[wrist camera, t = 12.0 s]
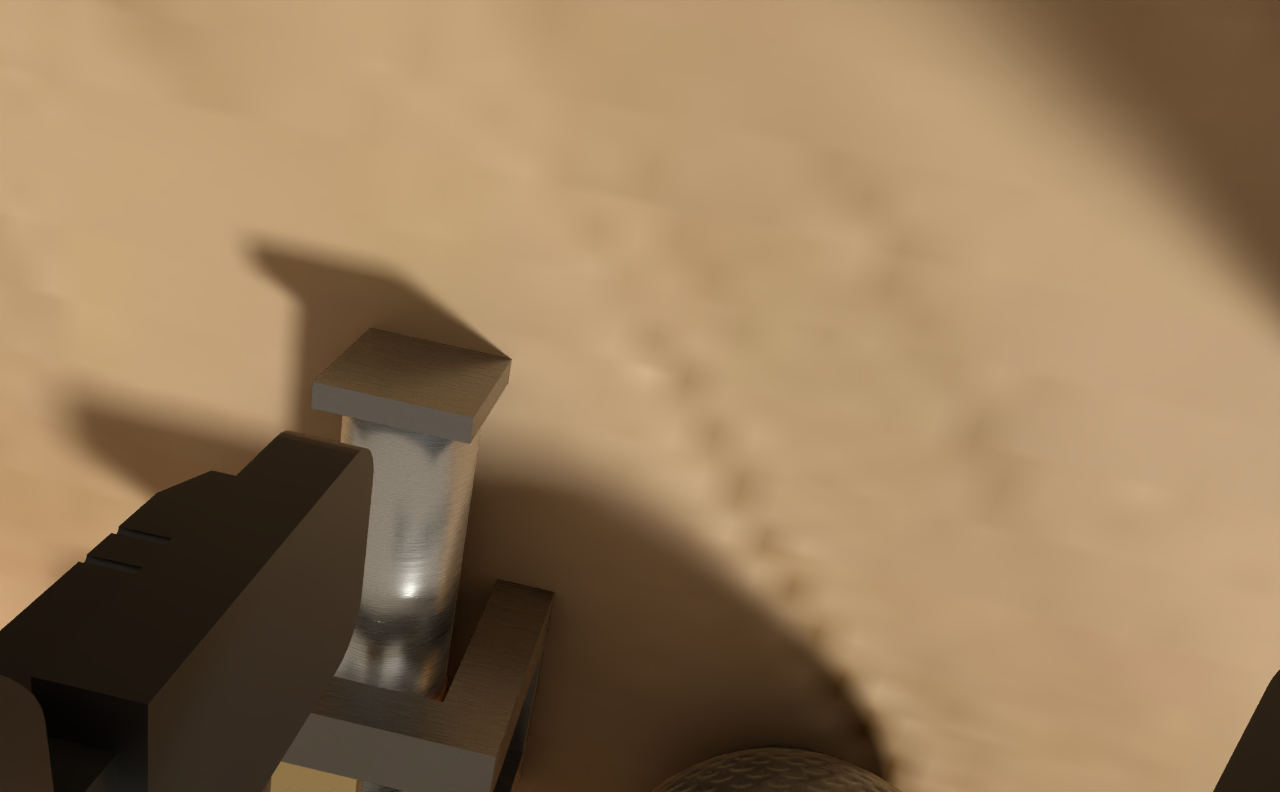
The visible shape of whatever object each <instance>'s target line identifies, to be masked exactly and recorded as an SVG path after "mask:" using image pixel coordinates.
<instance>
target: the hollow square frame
mask: <svg viewBox="0 0 1280 792" xmlns="http://www.w3.org/2000/svg"><path fill="white" fill-rule="evenodd" d="M553 596H554V592H550V591H545V590H541V589H537V588H532V587H528V586H524V585H519V584H515V583H511V582H506V581H502V580H498V581H497V583H496V586H495V588H494V590H493V592H492V595H491V597H490V599H489V601H488V604H487V606H486V608H485V610H484V612H483V615H482V617H481V619H480V621H479V624H478V626H477V628H476V630H475V633H474V635H473V637H472V639H471V642H470V644H469V646H468V648H467V650H466V653H465V655H464V657H463V659H462V662H461V664H460V666H459V668H458V671H457V673H456V675H455V677H454V679H453V682H452V684H451V686H450V688H449V691H448V693H447V695H446V697H445V700H444V702H441V701H437V700H432V699H428V698H424V697H420V696H415V695H411V694H407V693H403V692H398V691H394V690H390V689H386V688H381V687H377V686H373V685H369V684H364V683H360V682H356V681H352V680H347V679H343V678H339V677H335V676H333V677H332V679H331V681H330V682H329V684H328V686H327V687H326V689H325V690H324V692H323V694H322V695H321V697H320V699H319V700H318V702H317V703H316V705H315V707H314V708H313V710H312V712H311V713H310V715H309V716H308V718H307V720H306V721H305V723H304V725H303V726H302V728H301V729H300V731H299V733H298V734H297V736H296V737H295V739H294V741H293V742H292V744H291V746H290V747H289V749H288V750H287V752H286V754H285V755H284V757H283V759H282V760H281V762H280V763H279V765H278V767H277V768H276V770H275V772H274V773H273V775H272V776H271V778H270V780H269V781H268V783H267V785H266V786H265V788H264V789H263V791H262V792H362V786H363V781H364V782H369V783H373V784H377V785H381V786H385V787H390V788H394V789H398V790H402V791H406V792H516V790H517V787H518V784H519V780H520V775H521V769H522V764H523V758H524V753H525V748H526V742H527V737H528V731H529V726H530V721H531V715H532V710H533V704H534V699H535V694H536V688H537V683H538V677H539V672H540V666H541V661H542V656H543V650H544V645H545V639H546V634H547V629H548V623H549V618H550V612H551V607H552V602H553Z"/></svg>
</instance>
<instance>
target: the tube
mask: <svg viewBox="0 0 1280 792" xmlns="http://www.w3.org/2000/svg"><path fill="white" fill-rule="evenodd" d="M511 361H512V359H508V358H504V357H499V356H495V355H490V354H486V353H481V352H477V351H472V350H467V349H463V348H458V347H454V346H449V345H445V344H440V343H436V342H431V341H427V340H422V339H418V338H413V337H409V336H404V335H400V334H395V333H391V332H386V331H382V330H377V329H373V328H369V329H368V330H367V331H366V332H365V333H364V334H363V335H362V336H361V337H360V338H359V339H358V340H357V341H356V342H355V343H354V344H352V345H351V346H350V347H349V348H348V349H347V350H346V351H345V352H344V353H343V354H342V355H341V356H340V357H339V358H338V359H336V360H335V361H334V362H333V363H332V364H331V365H330V366H329V367H328V368H327V369H326V370H325V371H324V372H323V373H322V374H320V375H319V376H318V377H317V378H316V379H315V380H314V381H313V384H312V398H311V408H312V409H316V410H320V411H325V412H329V413H334V414H338V415H343V416H342V428H341V440H340V442H341V443H346V444H350V445H355V446H359V447H363V448H367V449H369V450H370V451H371V453H372V457H373V464H374V473H373V486H372V496H371V506H370V516H369V527H368V537H367V547H366V557H365V567H364V578H363V588H362V597H361V603H360V609H359V614H358V618H357V622H356V625H355V629H354V632H353V635H352V638H351V641H350V644H349V647H348V649H347V651H346V654H345V656H344V658H343V660H342V662H341V664H340V666H339V668H338V669H337V671H336V673H335V674H334V676H335V677H339V678H343V679H347V680H352V681H356V682H360V683H364V684H369V685H373V686H377V687H381V688H386V689H390V690H394V691H398V692H403V693H407V694H411V695H415V696H420V697H424V698H428V699H432V700H437V701H441V702H444V700H445V697H446V690H447V683H448V673H447V666H448V659H449V651H450V644H451V637H452V630H453V623H454V616H455V609H456V602H457V595H458V588H459V581H460V573H461V566H462V559H463V552H464V545H465V538H466V531H467V524H468V517H469V510H470V503H471V495H472V488H473V481H474V474H475V467H476V460H477V453H478V446H479V439H480V432H481V426H482V424H483V423H484V421H485V419H486V418H487V416H488V415H489V413H490V411H491V410H492V408H493V407H494V405H495V403H496V402H497V400H498V399H499V397H500V395H501V394H502V392H503V391H504V389H505V387H506V386H507V384H508V381H509V375H510V368H511ZM362 792H406V791H402V790H398V789H394V788H390V787H385V786H381V785H377V784H373V783H369V782H364V781H363V786H362Z"/></svg>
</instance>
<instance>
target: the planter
mask: <svg viewBox="0 0 1280 792" xmlns="http://www.w3.org/2000/svg"><path fill="white" fill-rule="evenodd" d="M651 792H902V791H900V790H899V789H897V788H896V787H894V786H893V785H891V784H890V783H888V782H886V781H885V780H883V779H882V778H880V777H878V776H877V775H875V774H873V773H871V772H869V771H867V770H865V769H862V768H860V767H858V766H856V765H854V764H852V763H849V762H847V761H844V760H841V759H838V758H834V757H831V756H828V755H825V754H823V753H820V752H816V751H813V750H810V749H806V748H800V747H794V746H781V745H771V746H758V747H753V748H749V749H744V750H741V751H737V752H732V753H728V754H723V755H719V756H716V757H714V758H711V759H708V760H705V761H703V762H700V763H697V764H694V765H692V766H690V767H688V768H687V769H685V770H683V771H681V772H679V773H677V774H675V775H674V776H672V777H670V778H668V779H666V780H665V781H664V782H662V783H661V784H660V785H658V786H657V787H656V788H654V789H653V790H652V791H651Z"/></svg>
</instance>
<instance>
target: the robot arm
mask: <svg viewBox="0 0 1280 792" xmlns="http://www.w3.org/2000/svg"><path fill="white" fill-rule="evenodd" d="M373 473H374V464H373V457H372V453H371V451H370V450H369V449H367V448H363V447H359V446H355V445H350V444H346V443H341V442H337V441H332V440H328V439H324V438H319V437H315V436H310V435H306V434H302V433H297V432H293V431H284V432H282V433H280V434H279V435H278V436H277V437H276V438H275V439H274V440H273V441H272V442H271V443H270V444H269V445H267V446H266V447H265V448H264V449H263V450H262V451H261V452H260V453H259V454H258V455H257V456H256V457H255V458H254V459H253V460H252V461H251V462H250V463H249V464H248V465H247V466H246V467H245V468H244V469H243V470H242V471H241V472H240V473H239V474H238V475H237V476H233V475H229V474H224V473H220V472H216V471H209V472H207V473H205V474H202V475H200V476H197V477H195V478H192V479H190V480H188V481H185V482H183V483H180V484H178V485H175V486H173V487H171V488H168V489H166V490H163V491H161V492H158V493H156V494H155V495H154V496H153V497H152V498H151V499H150V500H148V501H147V502H146V503H145V504H144V505H143V506H142V507H140V508H139V509H138V510H137V511H136V512H135V513H134V514H132V515H131V516H130V517H129V518H128V519H127V520H126V521H125V522H123V523H122V524H121V525H120V526H119V530H118V532H117V534H113V533H111V534H110V535H109V536H107V537H106V538H105V539H104V540H103V541H102V542H101V543H100V544H98V545H97V546H96V547H95V548H94V549H93V550H92V551H90V552H89V553H88V554H87V558H86V561H85V562H84V563H81V562H78V563H77V564H76V565H74V566H73V567H72V568H71V569H70V570H69V571H68V572H67V573H65V574H64V575H63V576H62V577H61V578H60V579H59V580H57V581H56V582H55V583H54V584H53V585H52V586H51V587H49V588H48V589H47V590H46V591H45V592H44V593H43V594H41V595H40V596H39V597H38V598H37V599H36V600H35V601H34V602H32V603H31V604H30V605H29V606H28V607H27V608H26V609H24V610H23V611H22V612H21V613H20V614H19V615H18V616H16V617H15V618H14V619H13V620H12V621H11V622H10V623H8V624H7V625H6V626H5V627H4V628H3V629H2V630H1V631H0V792H262V791H263V789H264V788H265V786H266V785H267V783H268V781H269V780H270V778H271V776H272V775H273V773H274V772H275V770H276V768H277V767H278V765H279V763H280V762H281V760H282V759H283V757H284V755H285V754H286V752H287V750H288V749H289V747H290V746H291V744H292V742H293V741H294V739H295V737H296V736H297V734H298V733H299V731H300V729H301V728H302V726H303V725H304V723H305V721H306V720H307V718H308V716H309V715H310V713H311V712H312V710H313V708H314V707H315V705H316V703H317V702H318V700H319V699H320V697H321V695H322V694H323V692H324V690H325V689H326V687H327V686H328V684H329V682H330V681H331V679H332V677H333V676H334V674H335V673H336V671H337V669H338V668H339V666H340V664H341V662H342V660H343V658H344V656H345V654H346V651H347V649H348V647H349V644H350V641H351V638H352V635H353V632H354V629H355V625H356V622H357V618H358V614H359V609H360V603H361V597H362V588H363V578H364V567H365V557H366V547H367V537H368V527H369V516H370V506H371V496H372V486H373ZM1213 792H1280V670H1279V671H1278V672H1277V673H1276V674H1275V676H1274V677H1273V678H1272V680H1271V682H1270V683H1269V685H1268V687H1267V689H1266V691H1265V692H1264V694H1263V696H1262V698H1261V700H1260V702H1259V704H1258V706H1257V708H1256V710H1255V712H1254V714H1253V716H1252V718H1251V719H1250V721H1249V723H1248V725H1247V727H1246V729H1245V731H1244V733H1243V735H1242V737H1241V739H1240V741H1239V743H1238V745H1237V746H1236V748H1235V750H1234V752H1233V754H1232V756H1231V758H1230V760H1229V762H1228V764H1227V766H1226V768H1225V770H1224V772H1223V774H1222V775H1221V777H1220V779H1219V781H1218V783H1217V785H1216V787H1215V789H1214V791H1213Z"/></svg>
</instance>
